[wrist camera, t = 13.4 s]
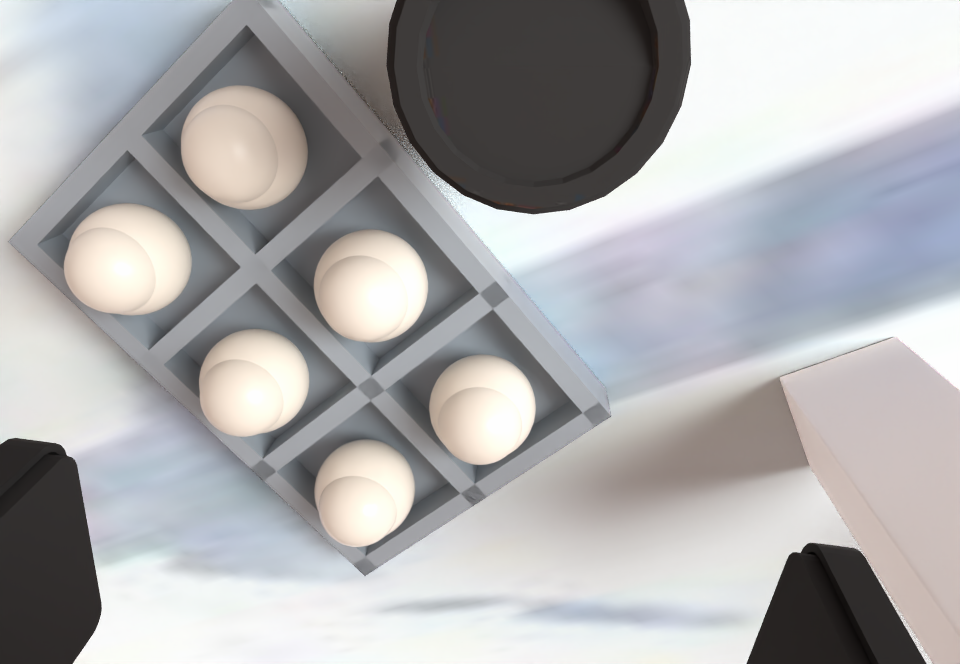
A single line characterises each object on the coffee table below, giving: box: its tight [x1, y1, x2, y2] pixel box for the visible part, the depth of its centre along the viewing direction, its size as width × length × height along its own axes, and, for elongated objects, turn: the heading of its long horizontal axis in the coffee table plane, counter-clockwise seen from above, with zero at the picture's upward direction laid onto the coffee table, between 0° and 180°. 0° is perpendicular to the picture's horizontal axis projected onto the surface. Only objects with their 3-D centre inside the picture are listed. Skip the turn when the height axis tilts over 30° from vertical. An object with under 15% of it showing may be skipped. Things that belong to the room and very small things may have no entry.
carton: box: [8, 0, 611, 576], centre depth 34 cm, size 25×17×7 cm
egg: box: [314, 439, 415, 547], centre depth 37 cm, size 5×5×6 cm
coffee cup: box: [387, 0, 691, 214], centre depth 25 cm, size 8×8×15 cm
